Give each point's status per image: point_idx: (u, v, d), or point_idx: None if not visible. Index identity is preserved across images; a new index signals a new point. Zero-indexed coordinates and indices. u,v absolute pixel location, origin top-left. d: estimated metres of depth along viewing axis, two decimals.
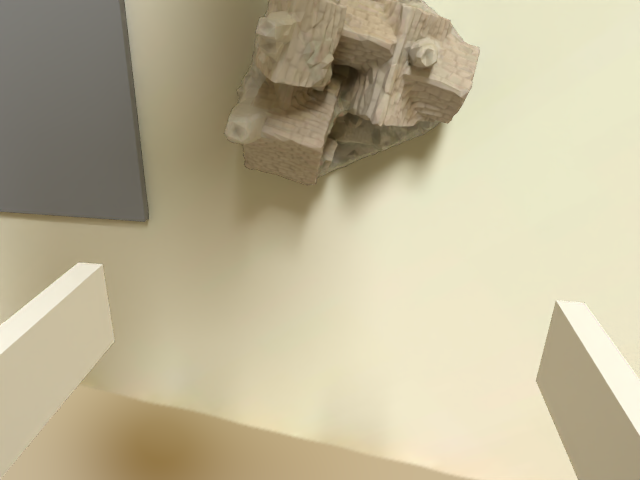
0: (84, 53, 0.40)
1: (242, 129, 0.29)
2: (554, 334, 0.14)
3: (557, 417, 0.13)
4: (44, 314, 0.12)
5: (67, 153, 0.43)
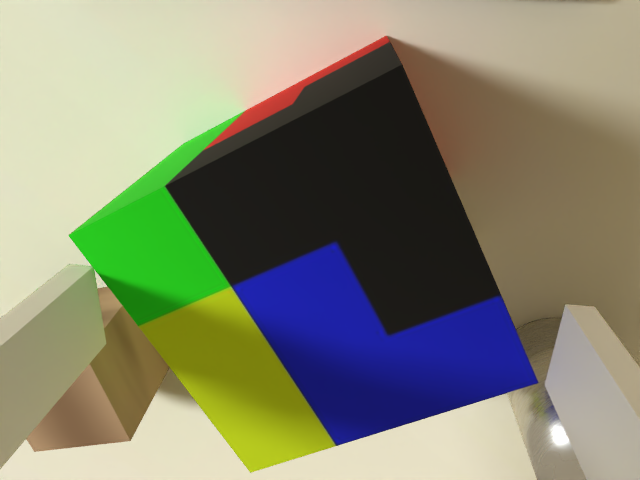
0: None
1: None
2: (564, 338, 0.14)
3: (567, 423, 0.13)
4: (32, 317, 0.12)
5: None
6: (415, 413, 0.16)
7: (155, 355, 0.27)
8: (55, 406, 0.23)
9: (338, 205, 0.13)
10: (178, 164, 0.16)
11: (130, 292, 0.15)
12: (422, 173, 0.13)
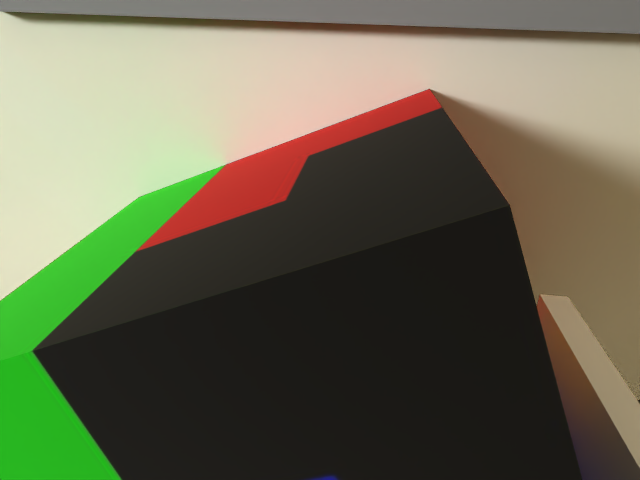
0: None
1: None
2: None
3: None
4: None
5: None
6: None
7: None
8: None
9: (345, 422, 0.07)
10: (95, 268, 0.10)
11: None
12: (510, 396, 0.07)
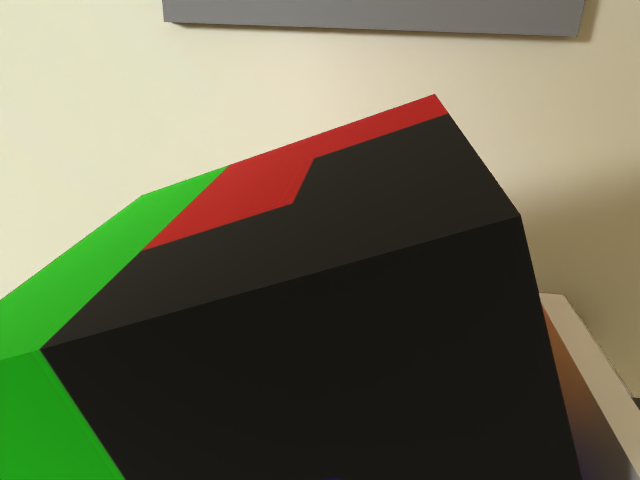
0: None
1: None
2: None
3: None
4: None
5: None
6: None
7: None
8: None
9: (351, 427, 0.07)
10: (100, 267, 0.10)
11: None
12: (515, 403, 0.07)
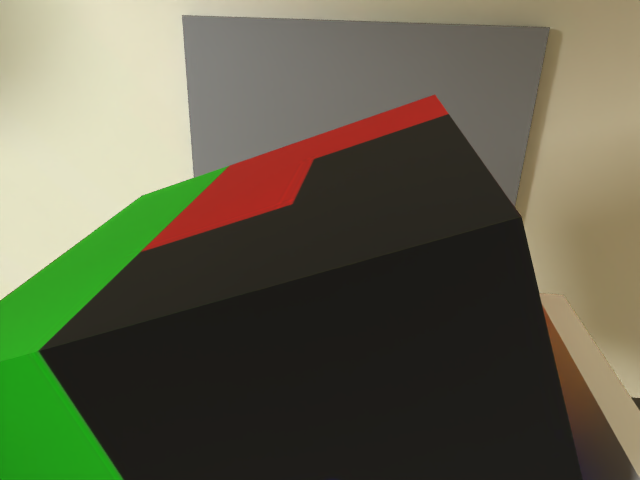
0: (289, 81, 0.29)
1: None
2: None
3: None
4: None
5: None
6: None
7: None
8: None
9: (352, 428, 0.07)
10: (100, 268, 0.10)
11: None
12: (516, 405, 0.07)
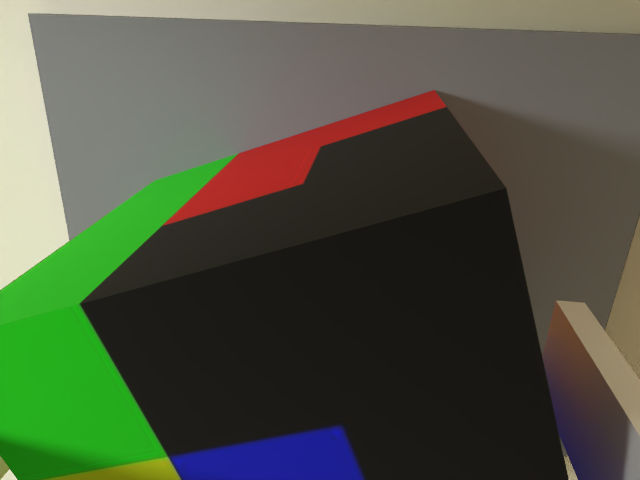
0: (221, 128, 0.17)
1: None
2: (554, 334, 0.14)
3: (557, 417, 0.13)
4: None
5: None
6: None
7: None
8: None
9: (355, 377, 0.08)
10: (124, 240, 0.11)
11: (12, 438, 0.10)
12: (499, 356, 0.08)
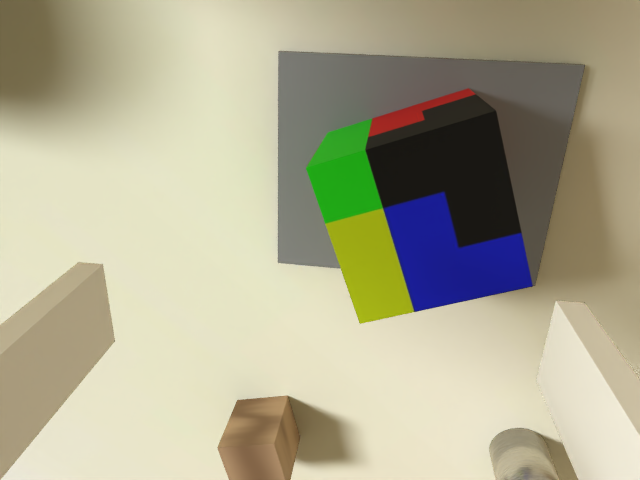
0: (365, 106, 0.35)
1: None
2: (554, 334, 0.14)
3: (557, 417, 0.13)
4: (44, 314, 0.12)
5: None
6: (463, 296, 0.29)
7: (293, 438, 0.47)
8: (251, 468, 0.43)
9: (450, 173, 0.26)
10: (354, 142, 0.30)
11: (327, 203, 0.28)
12: (494, 163, 0.26)
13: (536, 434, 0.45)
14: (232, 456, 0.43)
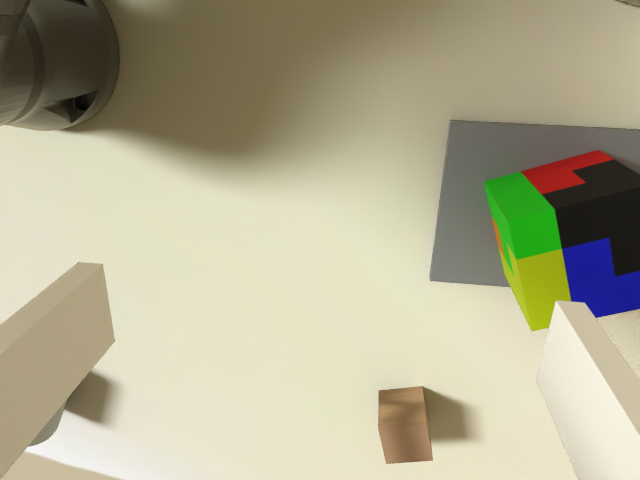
0: (515, 162, 0.46)
1: None
2: (554, 334, 0.14)
3: (557, 417, 0.13)
4: (44, 314, 0.12)
5: None
6: (613, 310, 0.40)
7: (427, 420, 0.58)
8: (404, 444, 0.54)
9: (615, 224, 0.37)
10: (531, 198, 0.40)
11: (520, 245, 0.39)
12: None
13: None
14: (390, 435, 0.54)
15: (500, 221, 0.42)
